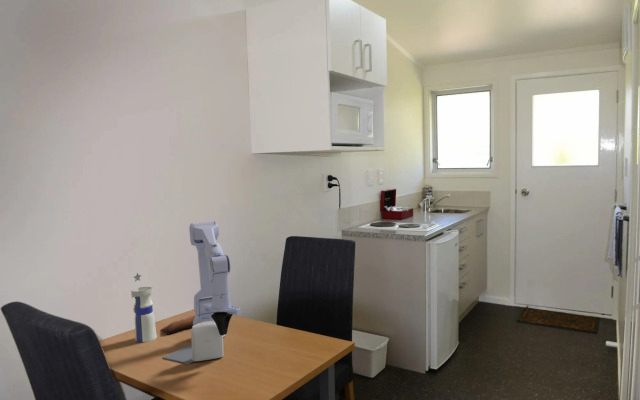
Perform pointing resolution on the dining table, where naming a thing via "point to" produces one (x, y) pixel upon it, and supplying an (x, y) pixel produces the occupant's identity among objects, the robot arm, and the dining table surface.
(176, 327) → the sunglasses case
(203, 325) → the photo printer
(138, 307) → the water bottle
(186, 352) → the topple mat
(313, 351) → the dining table surface
